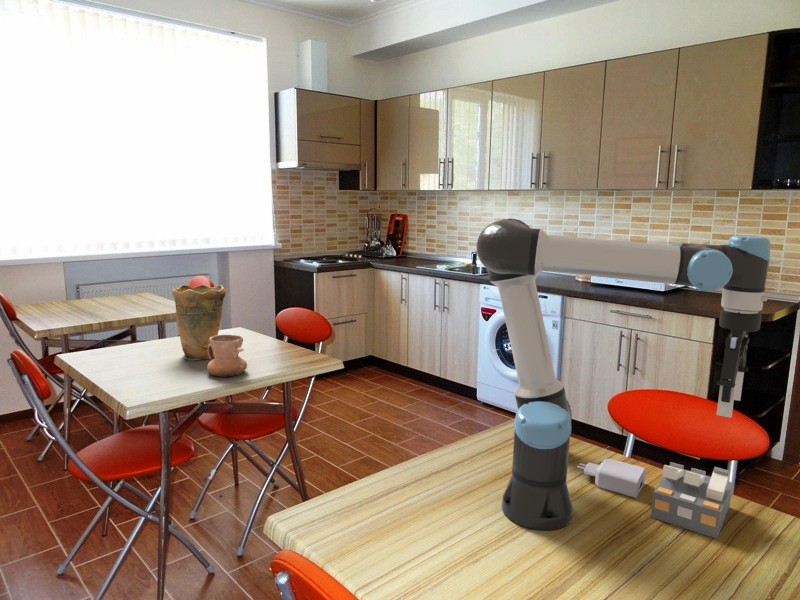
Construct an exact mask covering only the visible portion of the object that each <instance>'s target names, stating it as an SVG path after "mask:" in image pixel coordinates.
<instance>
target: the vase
mask: <svg viewBox="0 0 800 600" xmlns="http://www.w3.org/2000/svg"><path fill="white" fill-rule="evenodd" d="M226 291H227V290H226V288H224V286H223V285H222V284H221V285H220V284H219V285H217V286H209V285H206V284H201V285H196V286H190V285H187V284H183V285H180V286H179V287H177V288H175V287H174V288H173V289H172V296H173V299H174V304H175V305H174V306H175V317H176V318H175V319H176V324H177V325H176V326H177V331H178V334H179V341H180V344H181V349H182V351H183V354H184V355H183V356H182V358H183V359H184V360H188V361H193V362H194V361H200V360H206V359H210V358H209V355H208V346H209V344H210V337H213V336H216V335H219V332H220V331H219V330H220V326H221V325H220V324H221V320H222V315H223V305H224V299H225V297H226V294H227V292H226ZM212 351H213V350H212ZM213 355H214V358H215V354H214V352H213Z"/></svg>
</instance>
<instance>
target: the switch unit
mask: <svg viewBox="0 0 800 600" xmlns="http://www.w3.org/2000/svg"><path fill="white" fill-rule="evenodd" d="M686 471H689V472H691V470H688V469H684V472H683V476H682V477H681V478H679V479H677V480H674V479H670V478H667V477H663V476H662V478H661V480H660V482H659V483H658V484H657V486H656V487H655V489H654V490H653V493H652V501H651V502H652V503H651V511H650V518H653V519H656V520H659V521H662V522H665V523H668V524H671V525H673V526H677V527H680V528H683V529H686V530H688V531H693V532H695V533H698V534H701V535H705V536H708V537H711V538H714V539H718V538H719V535H720V533H721V531H722V527H723V525H724V523H725V520H726V518H727V515H726V514H728V511H729V509H730V506H731V498H732V492H733V482H732V481H728V483H727V486H726V489H725V493H724V496H723V499H722V502H720V501H717V500H714V499H710V498H707V497H706V491H707V487H708V485H709V482H710V479H711V476H709V475H706V476H705V482H704V483H703V484H702V485H700V486H699V487H698V486H695V485H691V484H688V483H684V477H685V474H686ZM723 522H724V523H723Z"/></svg>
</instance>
